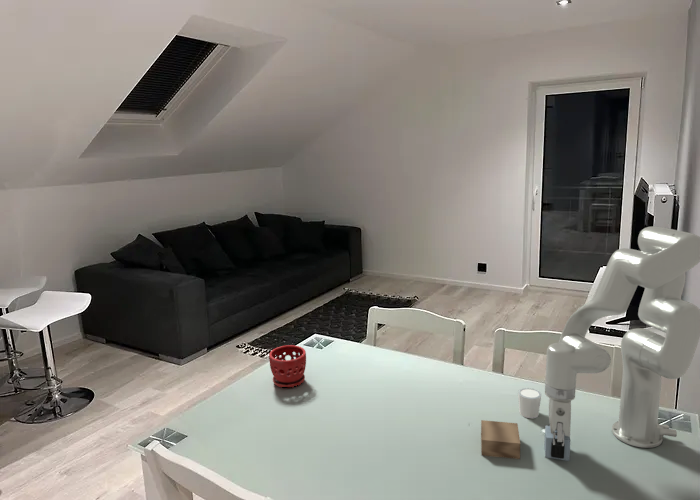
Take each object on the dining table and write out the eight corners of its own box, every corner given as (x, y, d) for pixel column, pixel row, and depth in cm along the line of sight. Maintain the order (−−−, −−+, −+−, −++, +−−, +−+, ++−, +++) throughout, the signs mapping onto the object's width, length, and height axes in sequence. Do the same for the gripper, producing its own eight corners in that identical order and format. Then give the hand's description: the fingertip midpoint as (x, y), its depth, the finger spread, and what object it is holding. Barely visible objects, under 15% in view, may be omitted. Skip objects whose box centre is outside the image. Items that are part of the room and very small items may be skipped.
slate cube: (567, 447, 143) (568, 428, 142) (569, 460, 138) (570, 440, 137) (544, 444, 145) (545, 425, 144) (545, 457, 140) (546, 437, 138)
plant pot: (263, 385, 186) (261, 354, 183) (288, 371, 196) (285, 342, 194) (291, 395, 179) (289, 362, 176) (314, 379, 189) (313, 349, 186)
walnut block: (516, 438, 149) (517, 423, 148) (519, 460, 139) (520, 443, 138) (481, 435, 151) (481, 420, 150) (481, 456, 142) (481, 439, 141)
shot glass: (542, 420, 157) (543, 399, 156) (518, 418, 159) (519, 397, 157) (538, 408, 164) (539, 388, 162) (516, 407, 165) (516, 387, 164)
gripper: (578, 407, 128) (574, 471, 132) (572, 376, 144) (568, 434, 148) (546, 403, 131) (543, 466, 135) (543, 373, 147) (540, 430, 151)
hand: (556, 449), depth 141 cm, fingers closed on slate cube, 6 cm apart
